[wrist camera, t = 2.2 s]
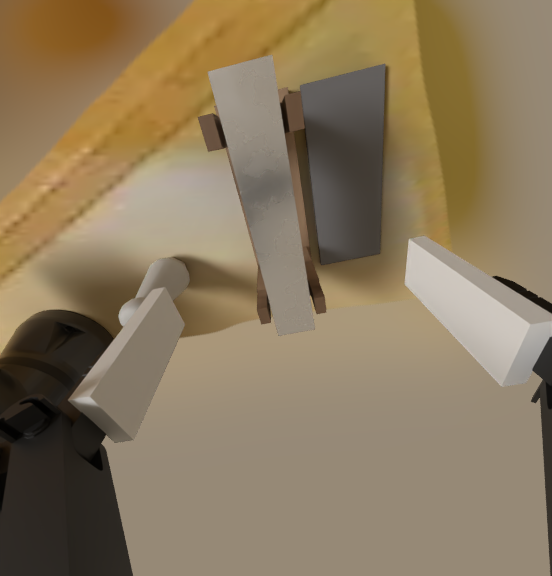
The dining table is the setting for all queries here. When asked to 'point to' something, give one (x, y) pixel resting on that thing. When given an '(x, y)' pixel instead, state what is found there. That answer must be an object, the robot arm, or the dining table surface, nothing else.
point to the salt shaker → (158, 284)
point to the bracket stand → (291, 123)
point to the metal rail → (265, 185)
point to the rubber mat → (346, 161)
